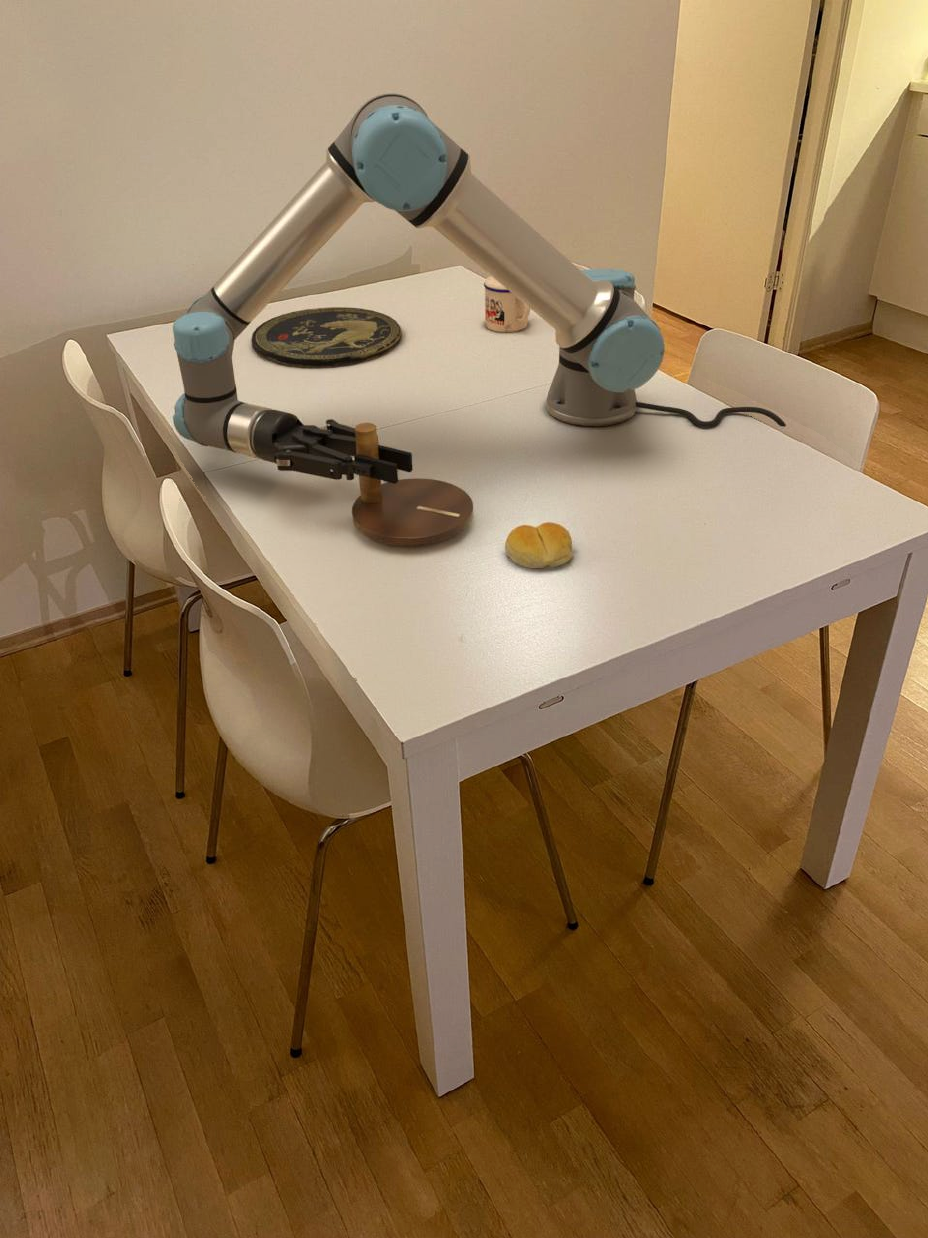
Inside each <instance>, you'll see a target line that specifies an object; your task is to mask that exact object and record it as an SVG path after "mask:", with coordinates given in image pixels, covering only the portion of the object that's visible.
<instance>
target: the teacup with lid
mask: <svg viewBox="0 0 928 1238" xmlns="http://www.w3.org/2000/svg"><path fill="white" fill-rule="evenodd" d="M483 287H484V315H485V316H484V317H485V318H484V322H485V323H484V325H485V326H486V328H487V329H489V330H490V331H493V332H499V333H513V332H518V331H521V330H523V329H525V328H526V327H527V326H528V318H529V317H530V313H531V309H530V308H529V307H528V306H527V305H526V304H524V303H523V302H522V301H521V300H520V299H518V298H517V297H516V296H515V295H514V294H513V293H511V292H510V291H509V290H508V289H507V288H505V287H504V286H503V285H502V284H501V283H499V282H498V281H497V280H496V279H495V278H493V277H492V276H491V275H490V276H488V277H487V278H486V279H485V280H484V282H483Z"/></svg>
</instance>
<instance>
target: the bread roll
mask: <svg viewBox="0 0 928 1238" xmlns="http://www.w3.org/2000/svg"><path fill="white" fill-rule="evenodd" d="M504 550H505V553H506V555H507V556H508V557H509V559H510V560H511V561H512V562H515V563H516V564H519V565H521V566H522V567H526V568H530V569H542V568H543V569H544V568H546V567H548V566H549V567H557V566H562V565H564V564H566V563H567V562H569V561H570V560H571V559H572V558H573V556H574V554H575V553H574V550H573V539H572V536H571V534H570V531H569V530H567V528H566V527H564V526H563V525H560V524H558V523H555V522H550V521H547V522H543V523H540V524H539V525H537V526H532V525H529V524H522V525H519V526H516V527H515V528H513V529H512V530H511V531H510V532H509V533H508V535H507V537H506V540H505V543H504Z"/></svg>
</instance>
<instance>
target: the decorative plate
mask: <svg viewBox="0 0 928 1238" xmlns="http://www.w3.org/2000/svg"><path fill="white" fill-rule="evenodd" d="M402 337H403V336H402V329H401V326H400V324H399V323H398V322H397V320H395V319H394V318H393V317H391V316H389V315H387V314H385V313H382V312H379V311H375V310H372V309H366V308H359V307H347V306H346V307H345V306H331V307H328V306H327V307H315V308H306V309H302V310H301V309H300V310H295V311H291V312H288V313H283V314H281V315H278V316H275V317H272V318H270V319H268V320H266V321H264V322H262V323H260V325H259V326H257V327H256V329H255V330H254V331H253V332H252V335H251V341H250V342H251V346H252V348H253V350H254V352H256V353H257V354H258V355H259V356H260V357H262V358H264V359H266V360H269V361H271V362H274V363H277V364H280V365H281V364H282V365H286V366H292V367H294V366H295V367H302V368H331V367H332V368H333V367H340V366H341V367H342V366H350V365H354V364H357V363H358V364H359V363H364V362H367V361H370V360H373V359H376V358H378V357H381V356H384V355H385V354H388V353H389V352H391V351H392V350H394V349H395V348H396V347H398V345H399V344H400V342H401V340H402Z"/></svg>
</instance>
